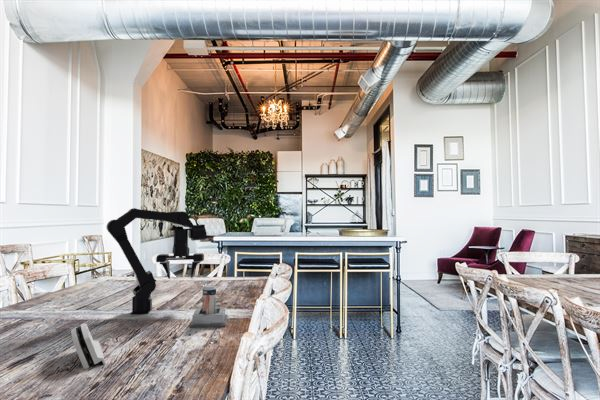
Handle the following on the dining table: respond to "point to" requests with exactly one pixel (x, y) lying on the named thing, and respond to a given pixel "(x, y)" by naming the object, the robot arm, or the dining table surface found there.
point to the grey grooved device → (86, 346)
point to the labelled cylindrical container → (209, 299)
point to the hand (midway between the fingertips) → (180, 278)
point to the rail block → (209, 318)
